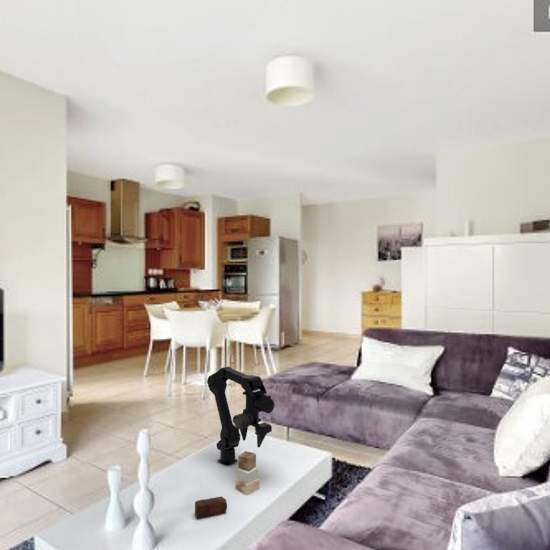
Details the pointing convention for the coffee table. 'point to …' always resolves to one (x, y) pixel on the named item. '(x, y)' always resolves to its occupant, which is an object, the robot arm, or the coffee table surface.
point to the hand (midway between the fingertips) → (251, 443)
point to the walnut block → (247, 461)
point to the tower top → (247, 475)
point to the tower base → (247, 486)
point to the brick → (210, 507)
